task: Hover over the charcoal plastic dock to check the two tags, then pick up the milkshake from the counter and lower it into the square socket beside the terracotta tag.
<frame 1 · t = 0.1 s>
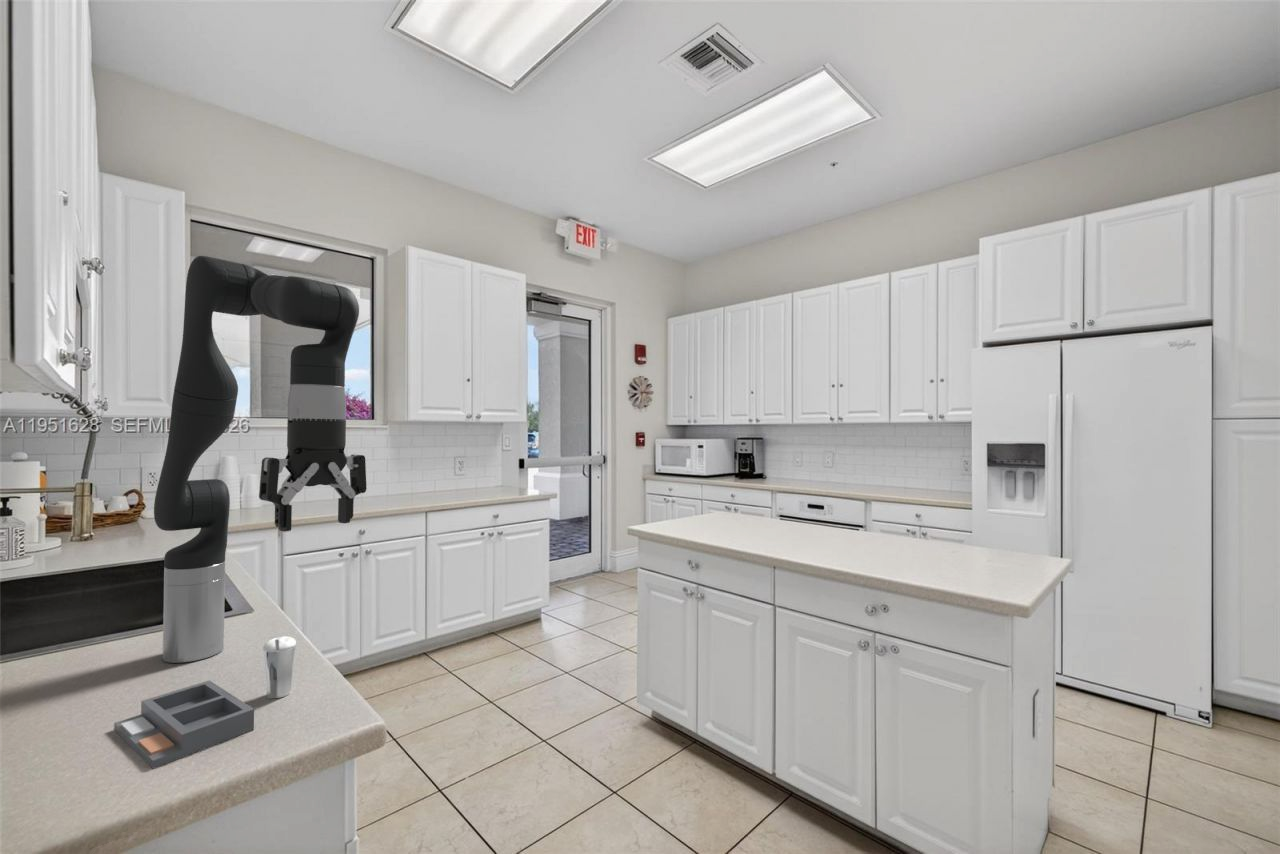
hand: (315, 526, 84), 29 cm above the countertop, tool pointing down, fingers open, 8 cm apart
dock: (182, 730, 82), on the countertop
milkshake: (278, 696, 93), on the countertop
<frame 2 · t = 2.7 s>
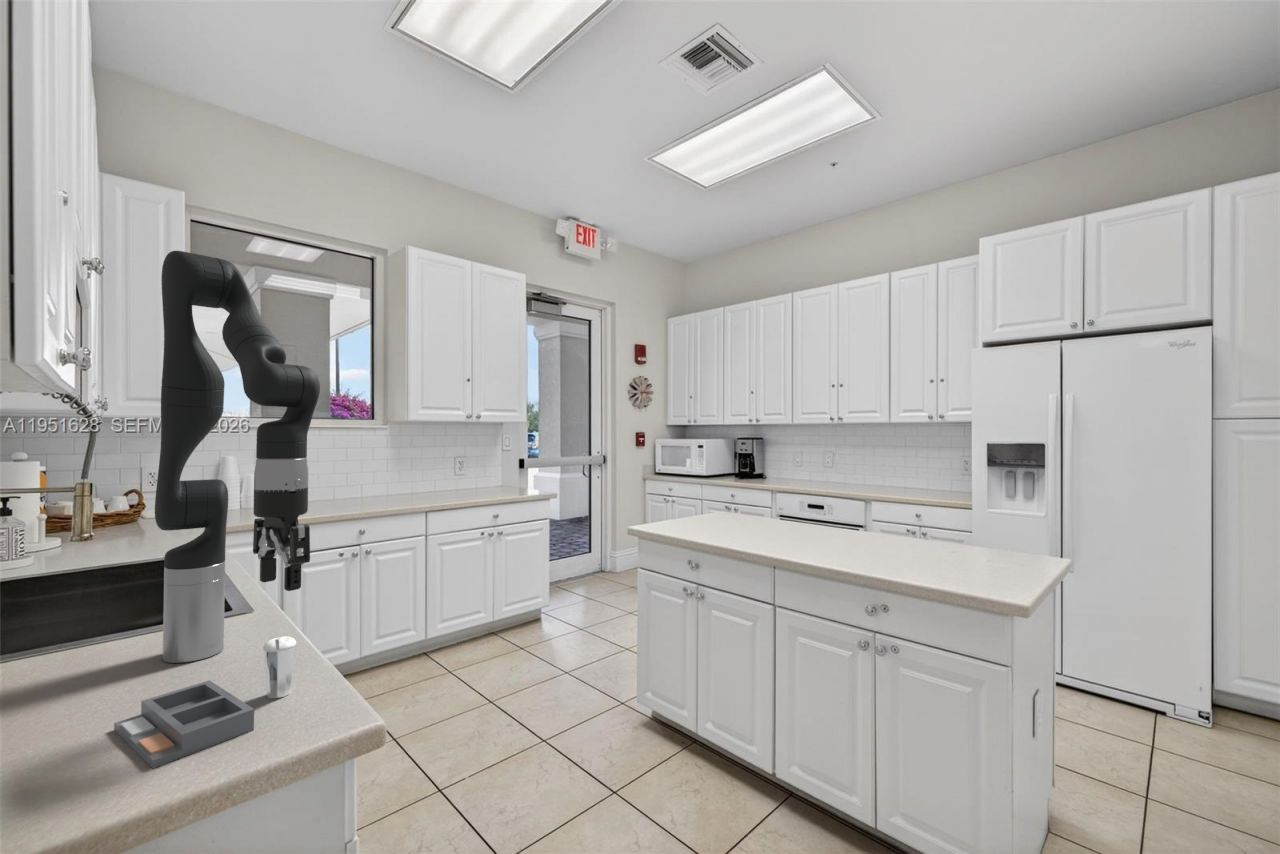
hand: (280, 585, 93), 18 cm above the countertop, tool pointing down, fingers open, 8 cm apart
nothing on the countertop moved.
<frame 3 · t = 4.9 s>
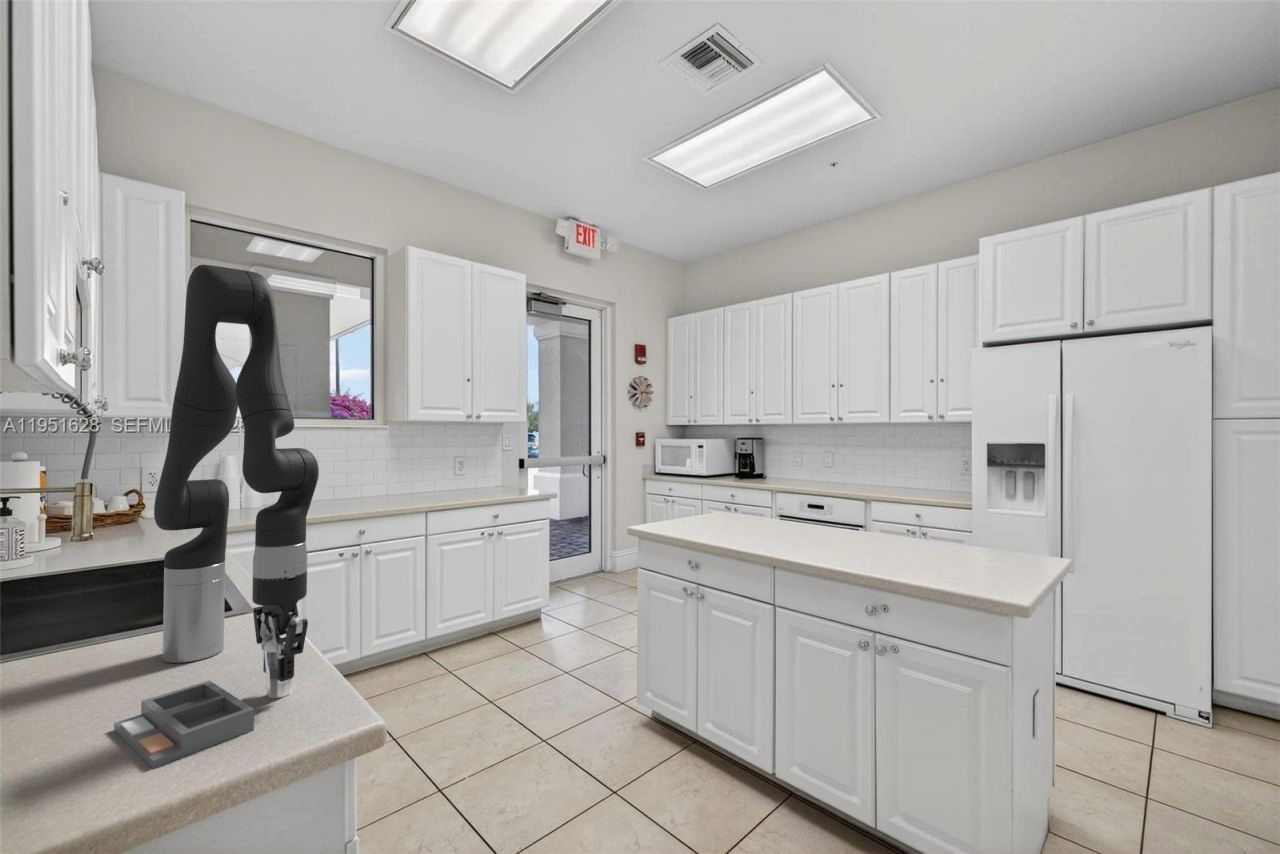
hand: (278, 675, 93), 3 cm above the countertop, tool pointing down, fingers closed on milkshake, 4 cm apart
milkshake: (278, 696, 93), on the countertop, touching gripper
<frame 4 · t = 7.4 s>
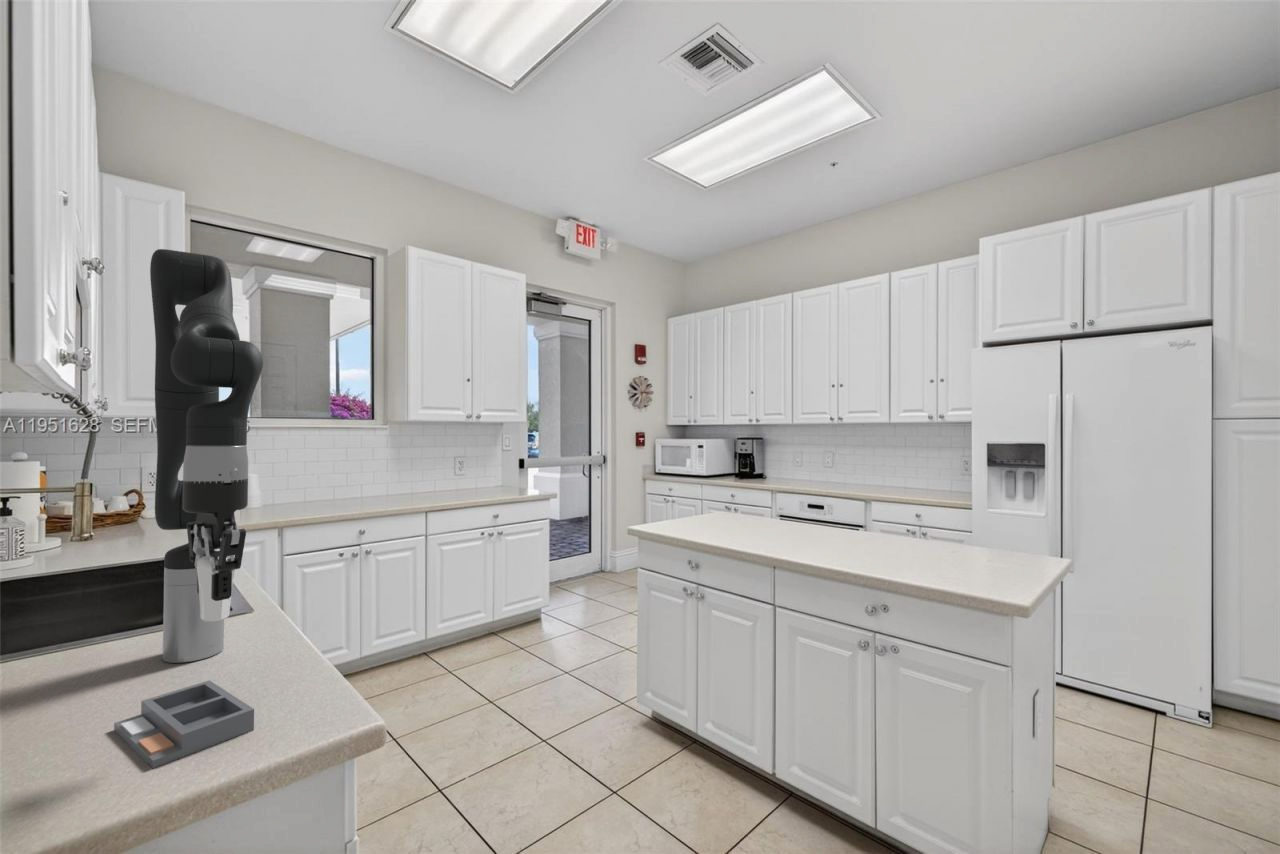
hand: (214, 595, 82), 19 cm above the countertop, tool pointing down, fingers closed on milkshake, 4 cm apart
milkshake: (214, 620, 82), point 16 cm above the countertop, touching gripper
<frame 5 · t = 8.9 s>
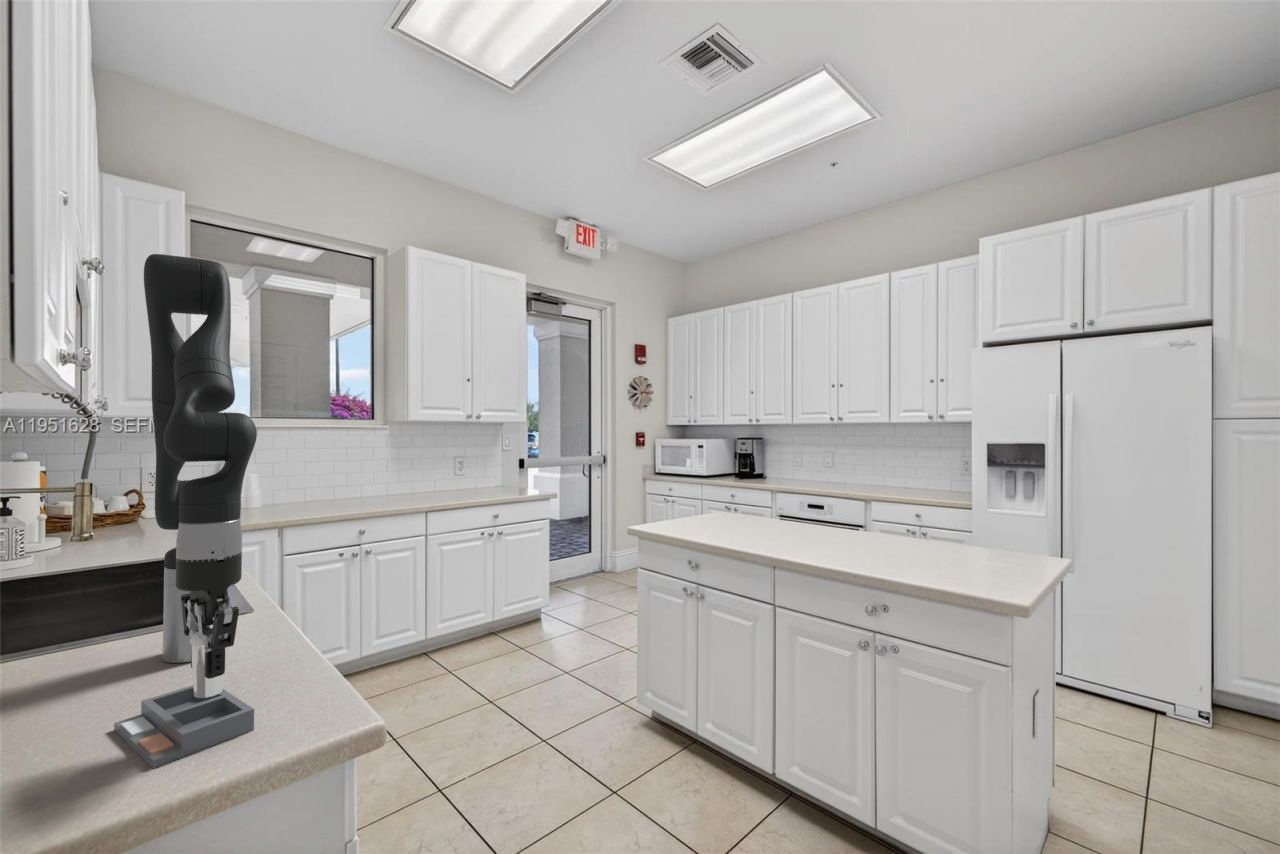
hand: (207, 671, 81), 9 cm above the countertop, tool pointing down, fingers closed on milkshake, 4 cm apart
milkshake: (207, 695, 81), point 5 cm above the countertop, touching gripper
when the fingers open (5 cm above the countertop, at t = 10.0 s): milkshake stays where it is, resting on dock.
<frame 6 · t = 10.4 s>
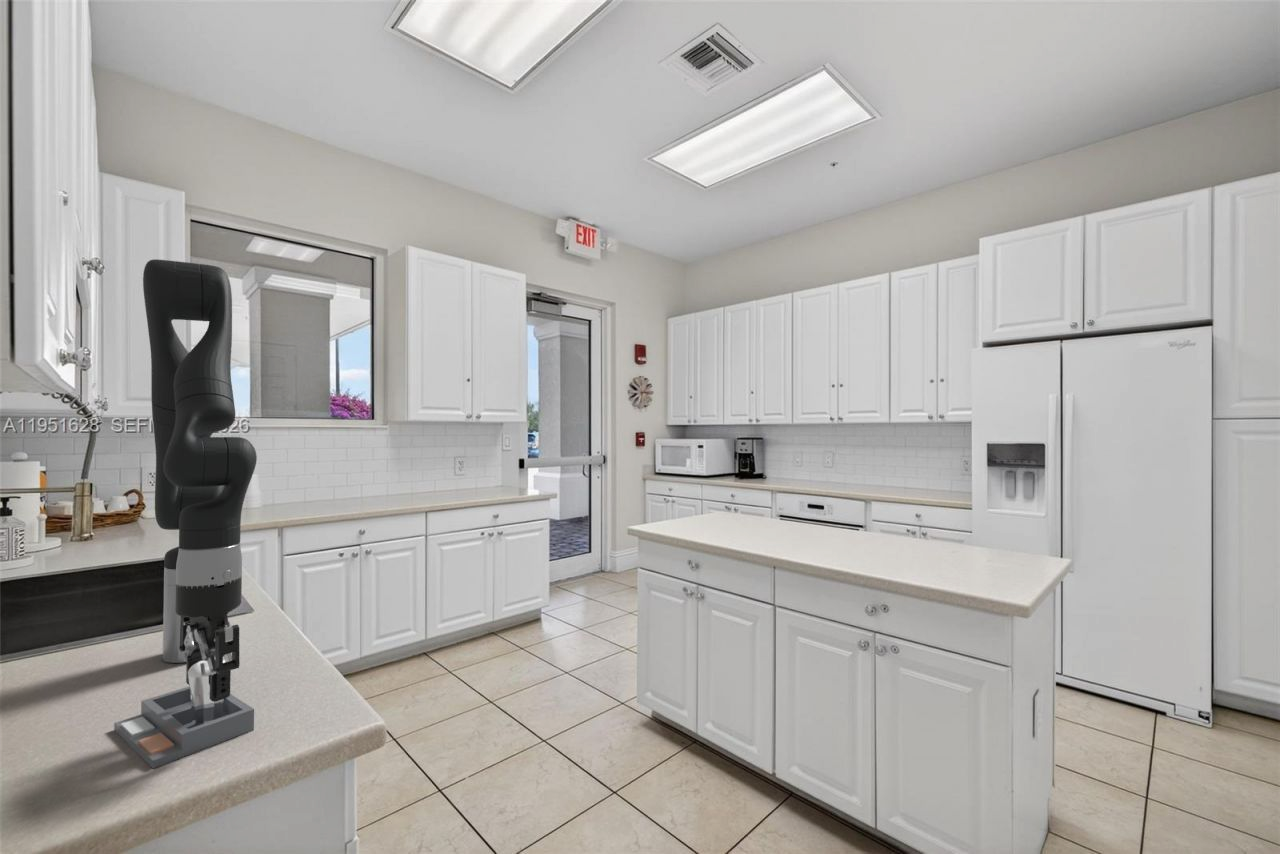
hand: (207, 690, 81), 6 cm above the countertop, tool pointing down, fingers open, 8 cm apart
milkshake: (206, 727, 81), point 1 cm above the countertop, touching dock
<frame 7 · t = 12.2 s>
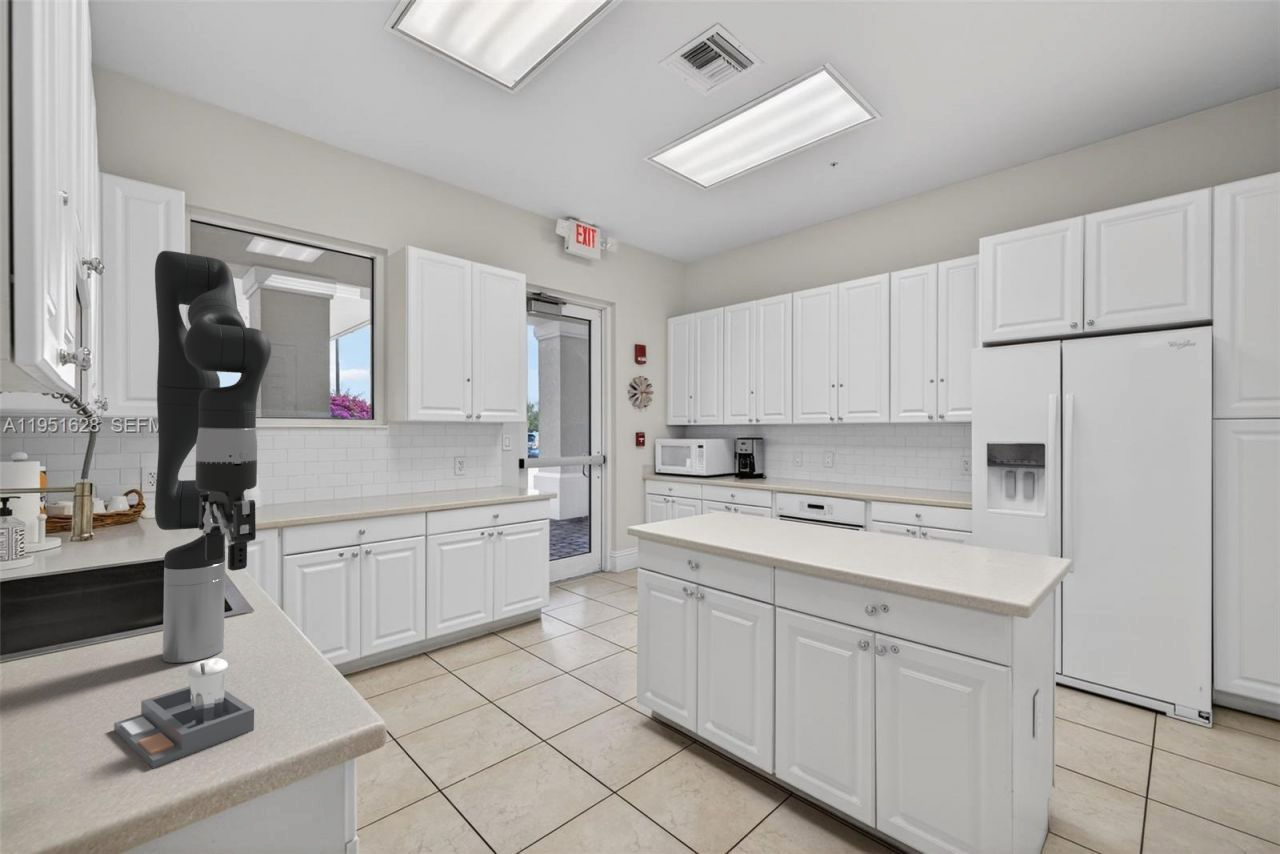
hand: (225, 564, 87), 23 cm above the countertop, tool pointing down, fingers open, 8 cm apart
nothing on the countertop moved.
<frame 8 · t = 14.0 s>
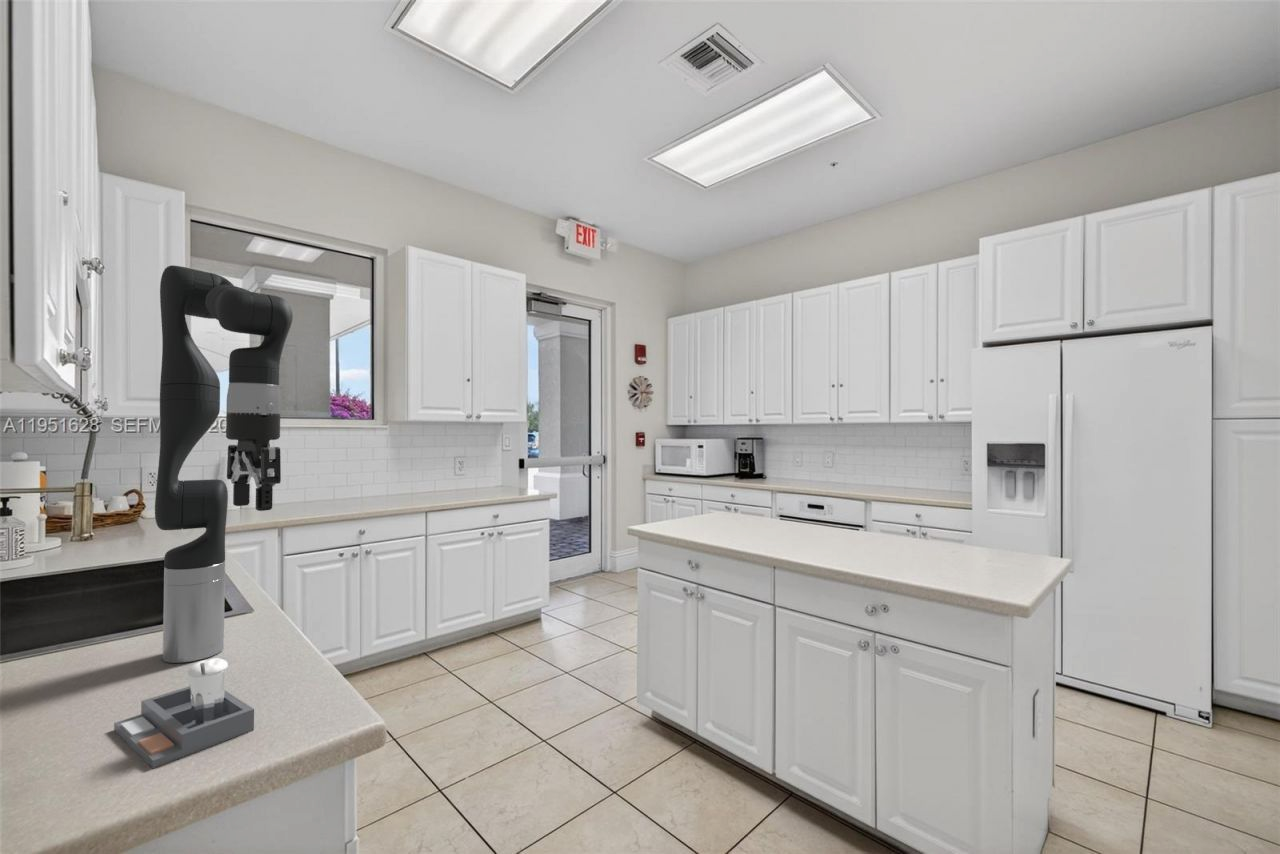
hand: (252, 507, 96), 30 cm above the countertop, tool pointing down, fingers open, 8 cm apart
nothing on the countertop moved.
at the end: milkshake 0.2 cm from the target spot on the dock, point 0.8 cm above the dock's base; milkshake tilted 0°; the gripper is holding nothing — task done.
